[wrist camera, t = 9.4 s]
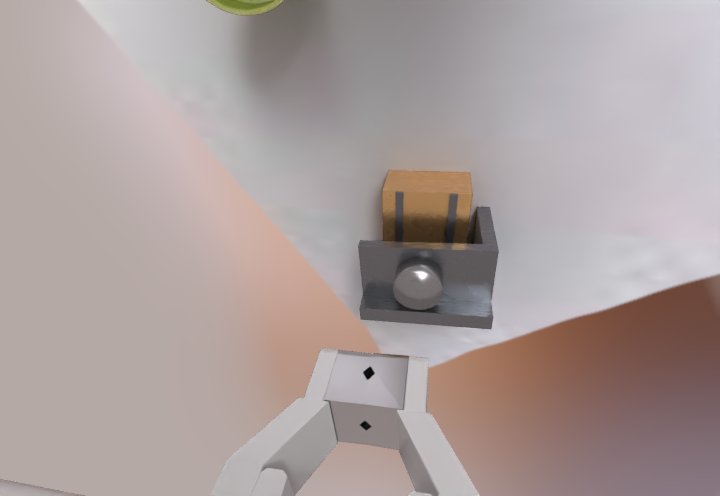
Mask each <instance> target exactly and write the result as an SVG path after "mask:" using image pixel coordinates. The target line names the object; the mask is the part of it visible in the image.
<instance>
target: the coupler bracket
mask: <svg viewBox="0 0 720 496" xmlns="http://www.w3.org/2000/svg"><path fill="white" fill-rule="evenodd" d="M358 248H359V257H360V267H361V277H362V287H363V297H362V301H361V305H360V316H361V319H362V320H375V321H389V322H402V323H415V324H429V325H442V326H455V327H469V328H482V329H491V328H492V321H493V313H492V306H491V299H492V292H493V285H494V278H495V271H496V265H497V258H498V246H497V241H496V236H495V231H494V226H493V221H492V216H491V211H490V207H477V216H476V226H475V236H474V244H459V243H427V242H396V241H365V240H360V243H359V246H358Z"/></svg>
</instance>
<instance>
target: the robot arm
mask: <svg viewBox="0 0 720 496" xmlns="http://www.w3.org/2000/svg"><path fill="white" fill-rule="evenodd" d="M427 382H428V358H423V357H411V356H404V355H391V354H378V353H374V354H370V353H362V352H354V351H345V350H336V349H326V348H323V349H322V350H321V351H320V353H319V355H318V358H317V361H316V364H315V367H314V370H313V372H312V375H311V378H310V381H309V384H308V387H307V390H306V392H305V395H304V398H297V400H295V401H294V402H293V403H292V404H291V405H289V406H288V407H287V408H286V409H285V410H284V411H282V413H280V414H279V415H278V416H277V417H276V418H274V419H273V420H272V421H271V422H270V423H269V424H267V426H265V427H264V428H263V429H262V430H261V431H259V432H258V433H257V434H256V435H255V436H254V437H253V438H251V439H250V440H249V441H248V442H247V443H246V444H244V445H243V446H242V447H241V448H240V449H239V450H238V451H236V452H235V453H234V454H233V455H232V456H231V457H229V458H228V459H227V461H226V464H225V466H224V468H223V470H222V472H221V474H220V476H219V478H218V481H217V483H216V485H215V487H214V489H213V491H212V493H211V495H210V496H295V494H296V493H297V492H298V491H299V490H300V488H301V487H302V486H303V485H304V484H305V482H306V481H307V480H308V479H309V477H310V476H311V475H312V474H313V473H314V471H315V470H316V469H317V468H318V467H319V465H320V464H321V463H322V462H323V461H324V459H325V458H326V457H327V455H329V453H330V452H331V451H332V450H333V448H334V447H335V446H336V445H337V441H339V442H348V443H357V444H366V445H372V446H378V447H384V448H390V449H396V450H399V452H400V455H401V457H402V460H403V462H404V464H405V467H406V469H407V471H408V474H409V476H410V479H411V481H412V483H413V486H414V488H415V491H416V492H414V491H412V492H411V493H410V494H408V495H407V496H480V495H479V494H478V492H477V490H476V488H475V487H474V485H473V483H472V482H471V480H470V478H469V477H468V475H467V473H466V472H465V470H464V468H463V466H462V465H461V463H460V461H459V460H458V458H457V456H456V455H455V453H454V451H453V450H452V448H451V446H450V444H449V443H448V441H447V440H446V438H445V436H444V434H443V433H442V431H441V429H440V427H439V426H438V424H437V422H436V421H435V419H434V417H433V416H432V414H430V413H427V385H428V384H427ZM0 496H84V495H79V494H74V493H69V492H63V491H59V490H54V489H49V488H44V487H39V486H34V485H29V484H23V483H18V482H13V481H8V480H3V479H0Z"/></svg>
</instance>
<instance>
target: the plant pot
mask: <svg viewBox="0 0 720 496" xmlns="http://www.w3.org/2000/svg"><path fill="white" fill-rule="evenodd" d="M206 1H208V2H209V3H211V4H212V5H214V6H216V7H217V8H219V9H221V10H223V11H226V12H228V13H232V14H236V15H243V16H250V15H258V14H262V13H265V12H268V11H270V10H272V9H274V8H276V7H277V6H278V5H280V4H281V3H282V2H283V1H285V0H206Z"/></svg>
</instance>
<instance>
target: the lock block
mask: <svg viewBox="0 0 720 496" xmlns="http://www.w3.org/2000/svg"><path fill="white" fill-rule="evenodd" d="M472 195H473V193H472V185H471V177H470V172H436V171H397V170H389V171H388V174H387V178H386V181H385V184H384V187H383V190H382V200H383V241H396V242H427V243H459V244H466V241H467V234H468V226H469V218H470V211H471V203H472Z"/></svg>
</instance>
